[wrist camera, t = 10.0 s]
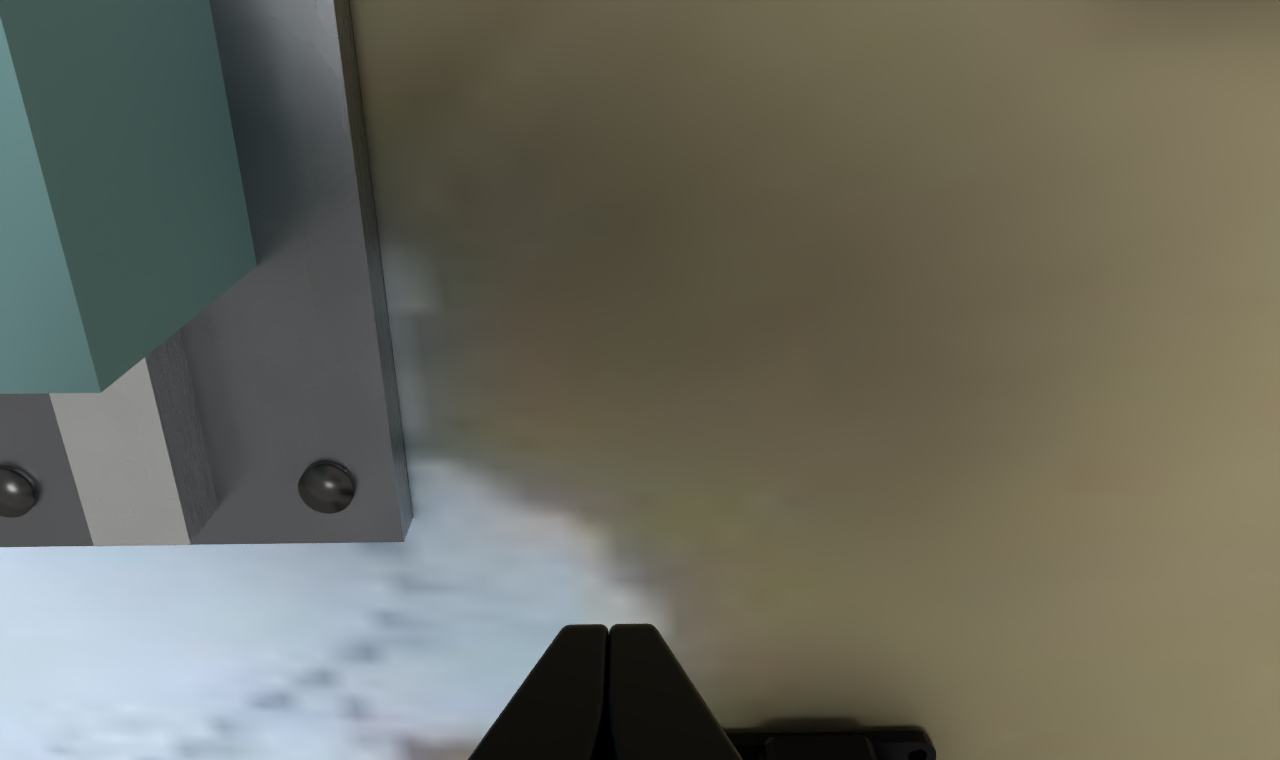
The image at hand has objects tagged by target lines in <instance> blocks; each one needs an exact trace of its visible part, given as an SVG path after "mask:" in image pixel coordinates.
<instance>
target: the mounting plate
mask: <svg viewBox="0 0 1280 760" xmlns="http://www.w3.org/2000/svg"><path fill="white" fill-rule="evenodd" d="M209 2H210V7H211V13H212V18H213V24H214V30H215V35H216V41H217V46H218V52H219V57H220V63H221V68H222V74H223V80H224V85H225V91H226V96H227V102H228V107H229V113H230V118H231V124H232V129H233V135H234V141H235V146H236V152H237V157H238V163H239V168H240V174H241V179H242V185H243V191H244V196H245V202H246V207H247V213H248V218H249V224H250V229H251V235H252V241H253V246H254V252H255V257H256V263H257V267H256V268H254V269H253V270H252V271H251V272H249V273H248V274H247V275H246V276H244V277H243V278H242V279H241V280H240V281H238V282H237V283H236V284H235V285H233V286H232V287H231V288H230V289H228V290H227V291H226V292H225V293H223V294H222V295H221V296H220V297H219V298H217V299H216V300H215V301H214V302H212V303H211V304H210V305H209V306H207V307H206V308H205V309H204V310H203V311H201V312H200V313H199V314H198V315H196V316H195V317H194V318H193V319H191V320H190V321H189V322H188V323H187V324H185V325H184V326H183V327H182V328H180V329H179V330H178V331H177V332H175V333H174V334H173V335H172V336H170V337H169V338H168V339H167V340H166V341H164V342H163V343H162V344H161V345H159V346H158V347H157V348H156V349H154V350H153V351H152V352H151V353H150V354H148V355H147V356H146V357H145V358H143V359H142V360H141V361H140V362H138V363H137V364H136V365H135V366H134V367H132V368H131V369H130V370H129V371H127V372H126V373H125V374H124V375H122V376H121V377H120V378H119V379H117V380H116V381H115V382H114V383H113V384H111V385H110V386H109V387H108V388H106V389H105V390H104V391H103V392H101V393H37V394H0V547H40V546H133V545H195V544H272V543H350V542H404V540H405V537H406V534H407V532H408V529H409V527H410V524H411V522H412V519H413V515H412V507H411V499H410V491H409V483H408V475H407V467H406V458H405V450H404V442H403V434H402V426H401V418H400V410H399V402H398V394H397V386H396V378H395V369H394V361H393V353H392V345H391V337H390V329H389V321H388V313H387V305H386V297H385V289H384V280H383V272H382V264H381V256H380V248H379V240H378V232H377V224H376V216H375V208H374V200H373V191H372V183H371V175H370V167H369V159H368V151H367V143H366V135H365V127H364V119H363V111H362V102H361V94H360V86H359V78H358V70H357V62H356V54H355V46H354V38H353V30H352V22H351V13H350V5H349V0H209Z"/></svg>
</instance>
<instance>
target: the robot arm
mask: <svg viewBox="0 0 1280 760" xmlns="http://www.w3.org/2000/svg"><path fill="white" fill-rule="evenodd" d="M917 749H919V750H918V751H915V752H912V751H913V750H917ZM468 760H936V750H935V748H934V745H933V743H932V740H931V738H930V737H929V736H928V735H927V734H925V733H924V732H920V731H872V732H808V733H743V734H725V732H724V730H723V729H722V727H721V726H720V724H719V723H718V721H717V720H716V718H715V717H714V715H713V714H712V712H711V711H710V709H709V708H708V706H707V705H706V703H705V702H704V700H703V698H702V697H701V695H700V694H699V692H698V691H697V689H696V688H695V686H694V685H693V683H692V682H691V680H690V679H689V677H688V676H687V674H686V673H685V671H684V670H683V668H682V666H681V665H680V663H679V662H678V660H677V659H676V657H675V656H674V654H673V653H672V651H671V650H670V648H669V647H668V645H667V644H666V642H665V641H664V639H663V638H662V636H661V634H660V633H659V631H658V630H657V629H656V628H655V627H654V626H653V625H651V624H615V625H613V626H612V627H611V629H610V631H609V632H608V629H607V627H606V626H604V625H602V624H583V625H567V626H565V627H563V628H562V629H561V631H560V632H559V633H558V635H557V636H556V637H555V639H554V640H553V642H552V643H551V644H550V646H549V647H548V649H547V650H546V651H545V653H544V654H543V656H542V657H541V658H540V660H539V661H538V662H537V664H536V665H535V667H534V668H533V669H532V671H531V672H530V674H529V675H528V676H527V678H526V679H525V681H524V682H523V683H522V685H521V686H520V688H519V689H518V690H517V692H516V693H515V694H514V696H513V697H512V699H511V700H510V701H509V703H508V704H507V706H506V707H505V708H504V710H503V711H502V713H501V714H500V715H499V717H498V718H497V720H496V721H495V722H494V724H493V725H492V727H491V728H490V729H489V731H488V732H487V733H486V735H485V736H484V738H483V739H482V740H481V742H480V743H479V745H478V746H477V747H476V749H475V750H474V752H473V753H472V754H471V756H470V757H469V759H468Z"/></svg>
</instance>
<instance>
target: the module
mask: <svg viewBox="0 0 1280 760" xmlns="http://www.w3.org/2000/svg"><path fill="white" fill-rule="evenodd" d="M256 267H257V263H256V257H255V252H254V246H253V241H252V235H251V229H250V224H249V218H248V213H247V207H246V202H245V196H244V191H243V185H242V179H241V174H240V168H239V163H238V157H237V152H236V146H235V141H234V135H233V129H232V124H231V118H230V113H229V107H228V102H227V96H226V91H225V85H224V80H223V74H222V68H221V63H220V57H219V52H218V46H217V41H216V35H215V30H214V24H213V18H212V13H211V7H210V2H209V0H0V394H37V393H101V392H103V391H104V390H105V389H106V388H108V387H109V386H110V385H111V384H113V383H114V382H115V381H116V380H117V379H119V378H120V377H121V376H122V375H124V374H125V373H126V372H127V371H129V370H130V369H131V368H132V367H134V366H135V365H136V364H137V363H138V362H140V361H141V360H142V359H143V358H145V357H146V356H147V355H148V354H150V353H151V352H152V351H153V350H154V349H156V348H157V347H158V346H159V345H161V344H162V343H163V342H164V341H166V340H167V339H168V338H169V337H170V336H172V335H173V334H174V333H175V332H177V331H178V330H179V329H180V328H182V327H183V326H184V325H185V324H187V323H188V322H189V321H190V320H191V319H193V318H194V317H195V316H196V315H198V314H199V313H200V312H201V311H203V310H204V309H205V308H206V307H207V306H209V305H210V304H211V303H212V302H214V301H215V300H216V299H217V298H219V297H220V296H221V295H222V294H223V293H225V292H226V291H227V290H228V289H230V288H231V287H232V286H233V285H235V284H236V283H237V282H238V281H240V280H241V279H242V278H243V277H244V276H246V275H247V274H248V273H249V272H251V271H252V270H253V269H254V268H256Z"/></svg>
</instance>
